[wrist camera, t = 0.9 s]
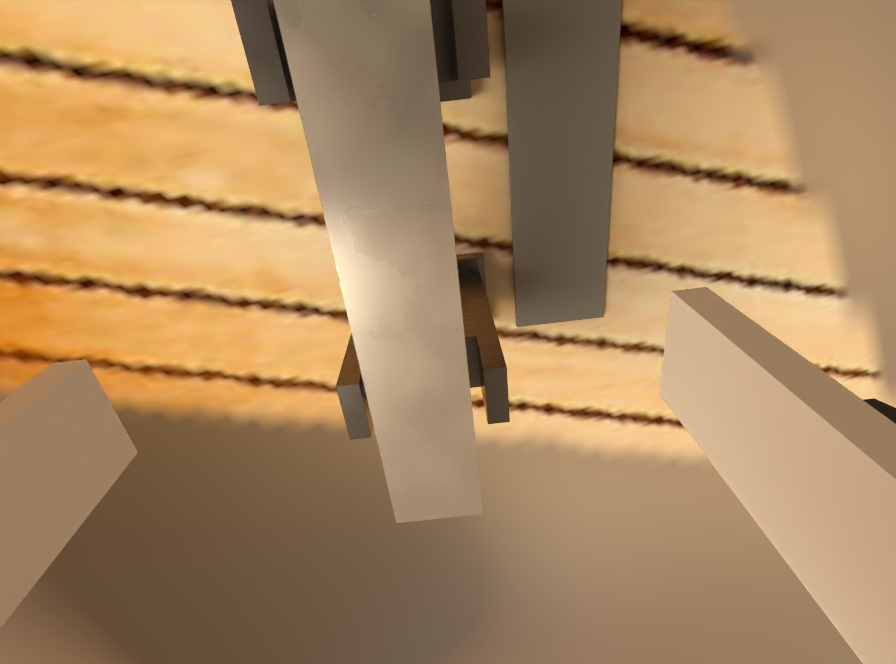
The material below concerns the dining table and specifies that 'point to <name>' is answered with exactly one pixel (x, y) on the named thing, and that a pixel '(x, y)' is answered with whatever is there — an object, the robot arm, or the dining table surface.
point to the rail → (391, 234)
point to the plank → (560, 152)
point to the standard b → (480, 352)
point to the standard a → (454, 40)
